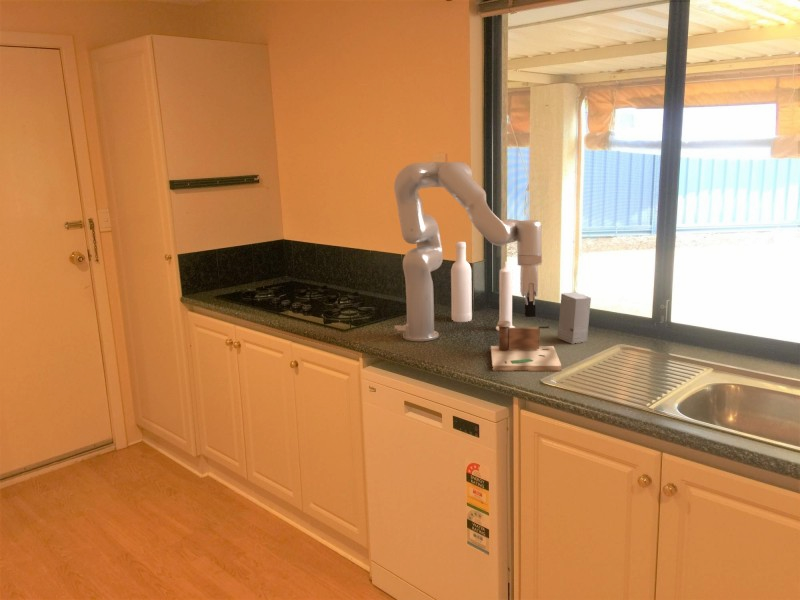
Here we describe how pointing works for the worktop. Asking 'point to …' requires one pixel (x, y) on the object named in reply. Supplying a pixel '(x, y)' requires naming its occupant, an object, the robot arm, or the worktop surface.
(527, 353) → the tuner plate
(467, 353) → the worktop surface
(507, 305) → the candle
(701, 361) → the worktop surface
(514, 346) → the peg
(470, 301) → the bottle
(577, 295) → the skincare box
